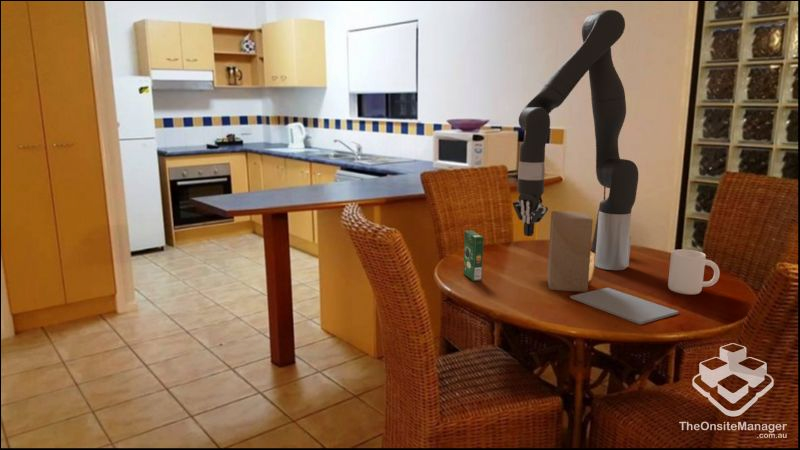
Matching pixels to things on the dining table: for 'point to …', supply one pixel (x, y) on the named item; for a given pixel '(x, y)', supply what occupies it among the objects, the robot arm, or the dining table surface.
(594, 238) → the butter churn
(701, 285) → the mug
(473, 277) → the coffee box
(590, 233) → the wooden block
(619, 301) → the slate mat
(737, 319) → the dining table surface
